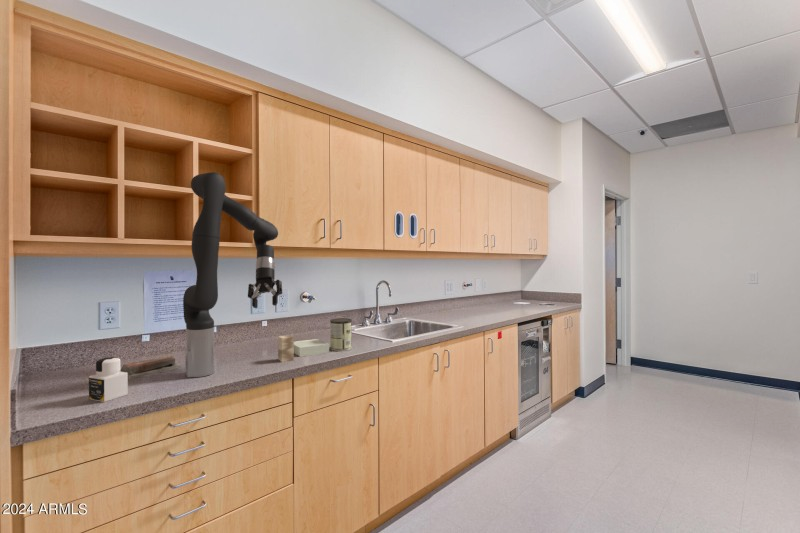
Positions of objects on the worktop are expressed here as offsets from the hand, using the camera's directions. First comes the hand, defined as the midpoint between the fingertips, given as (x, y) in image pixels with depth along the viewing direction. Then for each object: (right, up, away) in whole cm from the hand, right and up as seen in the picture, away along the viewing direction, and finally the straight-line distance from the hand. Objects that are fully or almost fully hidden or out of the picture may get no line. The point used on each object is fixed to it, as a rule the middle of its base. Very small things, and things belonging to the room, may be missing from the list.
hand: (264, 306), depth 158 cm
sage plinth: (+13, -23, +21) cm, 34 cm away
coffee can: (+27, -23, +27) cm, 45 cm away
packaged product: (-40, -24, -11) cm, 48 cm away
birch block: (+7, -23, +6) cm, 25 cm away
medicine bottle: (-34, -24, -40) cm, 58 cm away
